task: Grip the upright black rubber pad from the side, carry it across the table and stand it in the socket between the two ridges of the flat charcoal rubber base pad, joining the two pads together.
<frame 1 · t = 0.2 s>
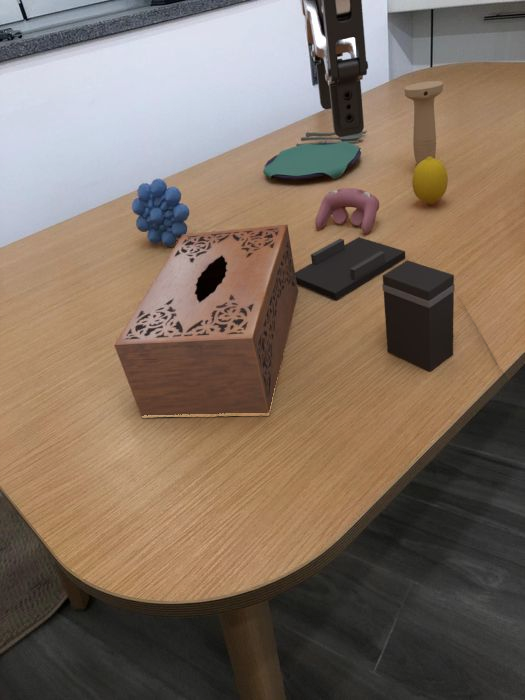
hand: (340, 119, 49), 28 cm above the table, tool pointing down, fingers open, 8 cm apart
upright pad: (419, 353, 67), on the table
handle: (425, 171, 112), on the table
cutlery set: (320, 160, 128), on the table
base pad: (348, 270, 86), on the table
grapes: (173, 244, 105), on the table
lemon: (430, 205, 99), on the table
tissue box cover: (229, 348, 75), on the table
video game controller: (348, 227, 98), on the table
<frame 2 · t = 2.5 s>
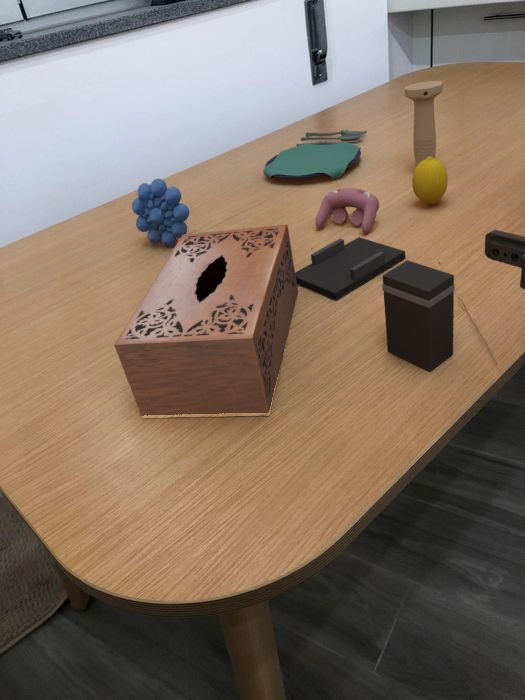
hand: (518, 223, 49), 18 cm above the table, tool horizontal, fingers open, 8 cm apart
nothing on the table moved.
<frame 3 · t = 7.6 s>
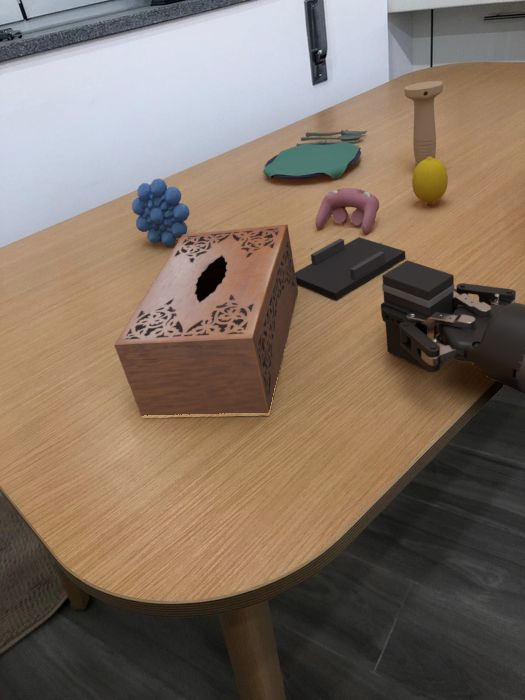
hand: (398, 300, 66), 6 cm above the table, tool horizontal, fingers closed on upright pad, 4 cm apart
upright pad: (419, 353, 67), on the table, touching gripper
everything else where it was.
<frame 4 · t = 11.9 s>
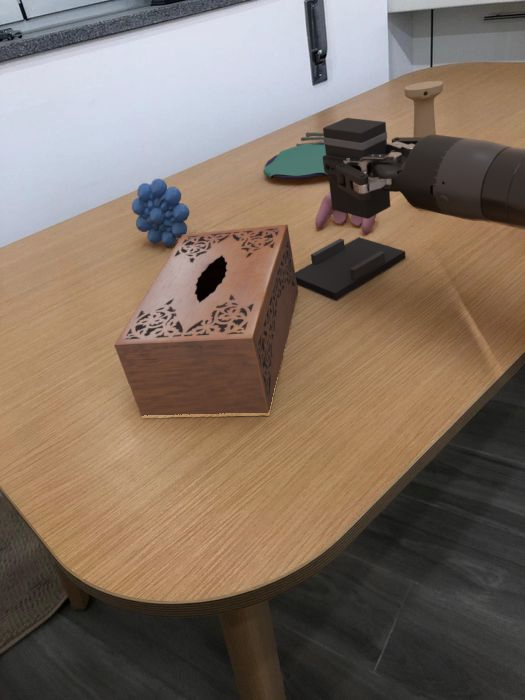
hand: (339, 156, 72), 18 cm above the table, tool horizontal, fingers closed on upright pad, 4 cm apart
upright pad: (360, 208, 73), point 12 cm above the table, touching gripper
everything else where it was.
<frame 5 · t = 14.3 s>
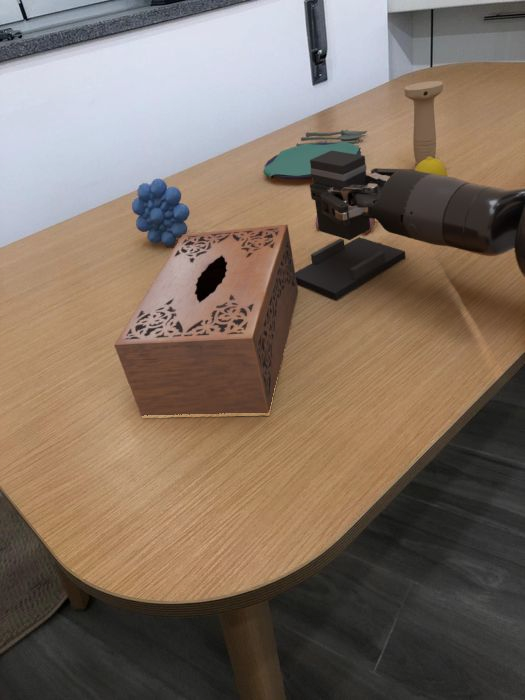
hand: (325, 184, 81), 12 cm above the table, tool horizontal, fingers closed on upright pad, 4 cm apart
upright pad: (344, 230, 82), point 6 cm above the table, touching gripper
everything else where it was.
when the fingers open (7 cm above the table, at t = 16.1 s): upright pad stays where it is, resting on base pad.
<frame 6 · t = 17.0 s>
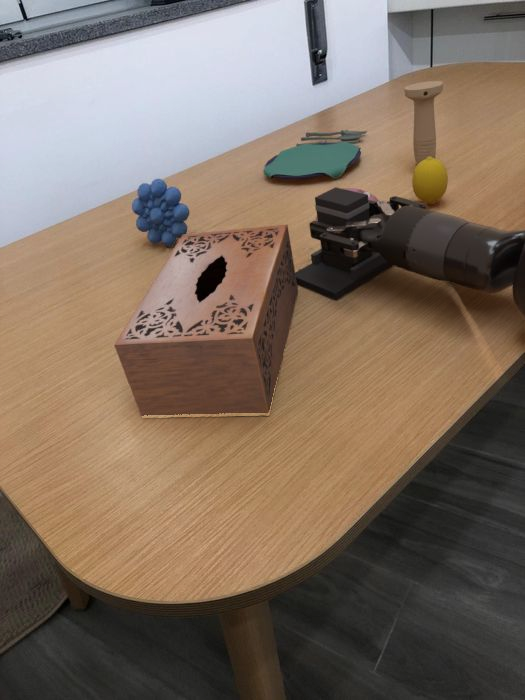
hand: (334, 216, 83), 8 cm above the table, tool horizontal, fingers open, 8 cm apart
upright pad: (347, 263, 85), point 1 cm above the table, touching base pad
everything else where it was.
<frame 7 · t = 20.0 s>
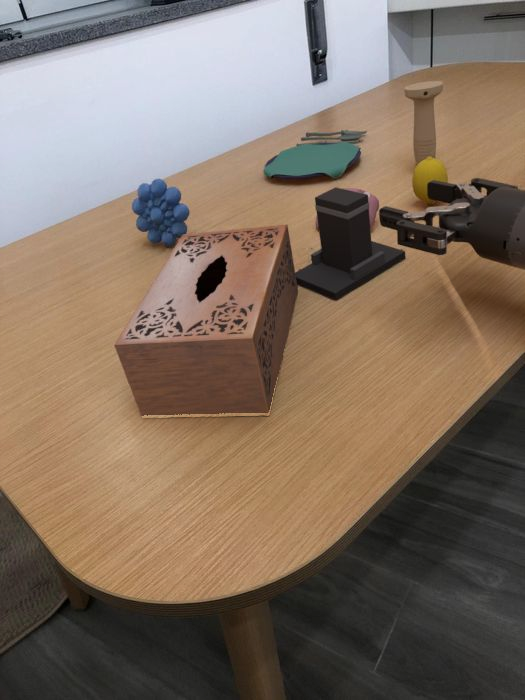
hand: (405, 202, 71), 12 cm above the table, tool horizontal, fingers open, 8 cm apart
nothing on the table moved.
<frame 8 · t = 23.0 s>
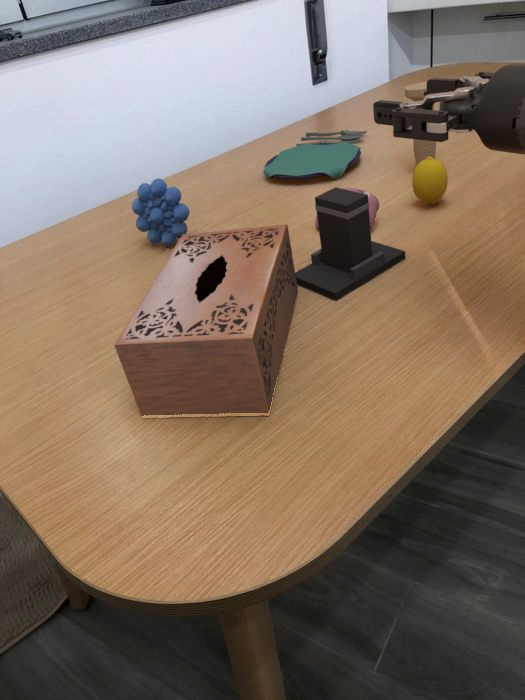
hand: (402, 100, 64), 24 cm above the table, tool horizontal, fingers open, 8 cm apart
nothing on the table moved.
at the end: upright pad 0.1 cm off-centre on the base pad, point 1.2 cm above the base pad's base; upright pad tilted 0°; the gripper is holding nothing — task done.
